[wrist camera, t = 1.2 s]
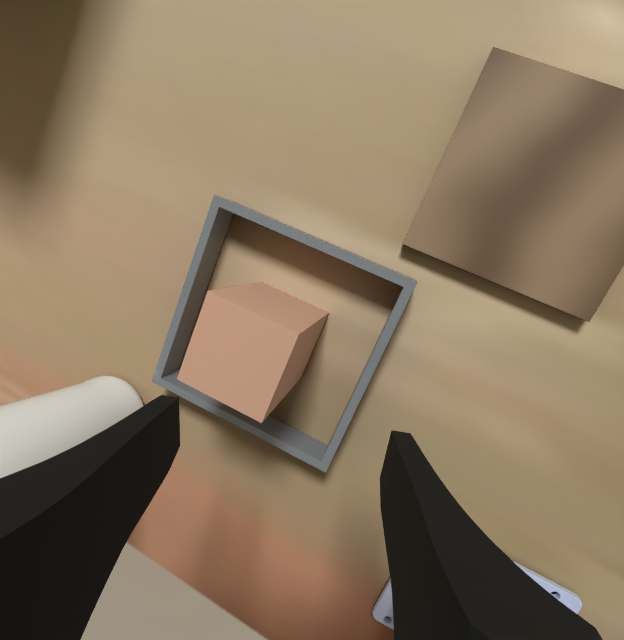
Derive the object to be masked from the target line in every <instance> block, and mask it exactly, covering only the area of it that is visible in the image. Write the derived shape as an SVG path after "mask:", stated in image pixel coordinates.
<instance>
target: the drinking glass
mask: <svg viewBox="0 0 624 640" xmlns="http://www.w3.org/2000/svg"><path fill="white" fill-rule="evenodd" d="M143 406H144V405H143V402H142V400H141V398H140V396H139V394H138V393H137V391H136V390H135V389H134V388H133V387H132V386H131V385H130V384H129V383H127V382H126V381H124V380H122V379H120V378H117V377H114V376H98V377H95V378H92V379H89V380H86V381H84V382H81V383H78V384H75V385H72V386H68V387H65V388H61V389H58V390H54V391H51V392H47V393H43V394H40V395H36V396H33V397H29V398H25V399H22V400H18V401H14V402H11V403H7V404H3V405H0V478H2V477H5V476H8V475H10V474H13V473H15V472H18V471H20V470H23V469H25V468H28V467H30V466H33V465H35V464H38V463H40V462H42V461H45V460H47V459H49V458H51V457H53V456H56V455H58V454H60V453H62V452H64V451H66V450H68V449H70V448H72V447H74V446H76V445H78V444H80V443H82V442H84V441H85V440H87V439H89V438H91V437H93V436H94V435H96V434H98V433H100V432H102V431H103V430H105V429H107V428H109V427H110V426H112V425H114V424H115V423H117V422H119V421H120V420H122V419H124V418H125V417H127V416H128V415H130V414H132V413H133V412H135V411H136V410H138V409H140V408H141V407H143Z"/></svg>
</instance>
